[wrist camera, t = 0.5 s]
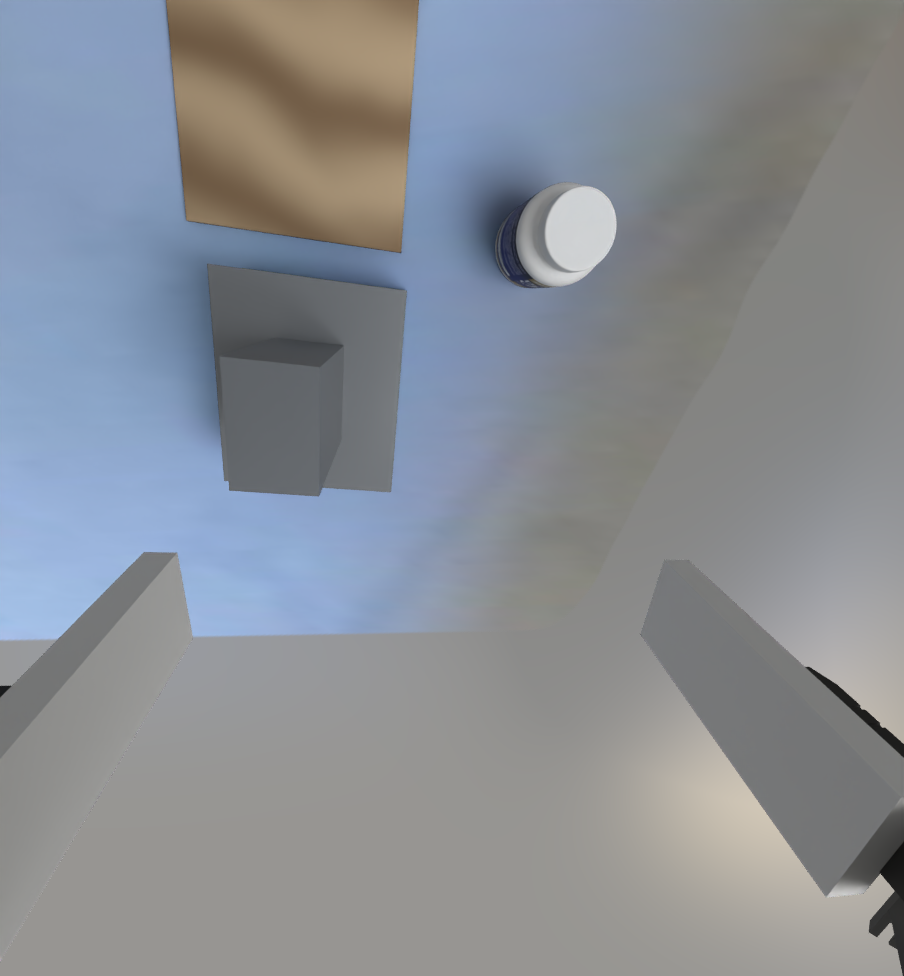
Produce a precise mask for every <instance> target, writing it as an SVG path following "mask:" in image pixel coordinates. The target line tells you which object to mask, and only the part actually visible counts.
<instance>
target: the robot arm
mask: <svg viewBox="0 0 904 976" xmlns="http://www.w3.org/2000/svg"><path fill="white" fill-rule="evenodd" d="M640 635H641V636H642V638H643V639H644V641H645V642H646V643H647V645H648V646H649V647H650V649H651V650H652V652H653V653H654V654H655V656H656V658H657V659H658V660H659V662H660V663H661V665H662V666H663V667H664V669H665V670H666V672H667V673H668V675H669V676H670V677H671V679H672V680H673V682H674V683H675V684H676V686H677V687H678V689H679V690H680V691H681V693H682V694H683V696H684V697H685V698H686V700H687V701H688V703H689V704H690V706H691V707H692V708H693V710H694V711H695V713H696V714H697V716H698V717H699V718H700V720H701V721H702V723H703V724H704V725H705V727H706V728H707V730H708V731H709V733H710V734H711V735H712V736H713V738H714V739H715V741H716V742H717V744H718V745H719V746H720V748H721V749H722V751H723V752H724V754H725V755H726V757H727V758H728V759H729V760H730V762H731V764H732V765H733V766H734V768H735V769H736V771H737V772H738V774H739V775H740V776H741V778H742V779H743V781H744V782H745V783H746V785H747V786H748V787H749V789H750V790H751V792H752V793H753V794H754V796H755V798H756V799H757V800H758V802H759V803H760V805H761V806H762V807H763V809H764V810H765V812H766V813H767V815H768V816H769V817H770V819H771V820H772V822H773V823H774V824H775V826H776V827H777V829H778V830H779V831H780V833H781V834H782V836H783V837H784V838H785V840H786V841H787V843H788V844H789V845H790V847H791V848H792V850H793V851H794V852H795V854H796V855H797V857H798V858H799V860H800V861H801V863H802V864H803V865H804V867H805V868H806V870H807V871H808V872H809V874H810V875H811V877H812V878H813V880H814V881H815V882H816V884H817V885H818V887H819V888H820V889H821V891H822V892H823V894H824V895H825V896H826V897H836V896H846V895H856V894H864V892H865V891H866V890H867V889H868V888H869V886H870V885H871V884H872V883H873V881H874V880H875V879H876V878H877V877H878V875H879V874H880V873H881V875H882V876H883V877H884V878H885V880H886V881H887V882H888V883H889V884H890V885H891V887H892V888H893V889H894V890H895V892H894V893H893V894H892V895H891V896H890V898H889V899H888V900H887V901H886V902H885V903H884V905H883V906H882V907H881V908H880V909H879V910H878V912H877V913H876V914H875V915H874V916H873V917H872V919H871V920H870V925H869V932H870V933H871V934H873V935H874V936H876V937H878V935H879V934H880V933H881V932H882V931H883V930H884V929H885V928H886V926H887V925H888V924H889V923H892V925H893V930H894V936H893V937H892V938H891V940H890V941H889V945H891V946H893V947H894V948H896V949H898V954H899V959H900V964H901V969H902V973H903V976H904V744H903V743H902V742H901V741H900V740H898V739H897V738H896V737H895V736H894V735H893V734H892V733H891V732H889V731H888V730H887V729H886V728H882V727H881V726H880V723H879V722H878V721H877V720H876V719H875V718H874V717H873V716H872V715H870V714H869V713H868V712H867V711H866V710H862V709H861V708H860V705H859V704H858V703H857V702H856V701H855V700H854V699H853V698H851V697H850V696H849V695H848V694H847V693H846V692H845V691H844V690H842V689H841V688H840V687H839V686H838V685H837V684H835V683H834V682H832V681H831V680H829V679H827V678H826V677H824V676H822V675H821V674H820V673H818V672H816V671H815V670H813V669H812V668H810V667H804V666H803V665H802V664H801V663H800V662H799V661H798V660H797V659H796V658H794V657H793V656H792V655H791V654H790V653H789V652H788V651H787V650H786V649H785V648H784V647H782V645H780V644H779V643H778V642H777V641H776V640H775V639H774V638H773V637H772V636H771V635H770V634H768V633H767V632H766V631H765V630H764V629H763V628H762V627H761V626H760V625H759V624H758V623H756V622H755V621H754V620H753V619H752V618H751V617H750V616H749V615H748V614H747V613H746V612H745V611H743V610H742V609H741V608H740V607H739V606H738V605H737V604H736V603H735V602H734V601H732V600H731V599H730V598H729V597H728V596H727V595H726V594H725V593H724V592H723V591H722V590H721V589H720V588H718V587H717V586H716V585H715V584H714V583H713V582H712V581H711V580H710V579H709V578H708V577H707V576H705V575H704V574H703V573H702V572H701V571H700V570H699V569H698V568H697V567H696V566H695V565H693V564H692V563H691V562H690V561H689V560H664V562H663V566H662V569H661V572H660V575H659V578H658V581H657V584H656V587H655V590H654V593H653V597H652V600H651V603H650V606H649V609H648V612H647V616H646V618H645V622H644V625H643V628H642V631H641V634H640ZM192 640H193V636H192V631H191V625H190V620H189V614H188V609H187V604H186V598H185V593H184V587H183V582H182V576H181V571H180V566H179V560H178V555H177V553H161V552H144V553H143V554H142V555H141V556H140V557H139V558H138V559H137V560H136V561H135V562H134V563H133V564H132V565H131V566H130V567H129V568H128V569H127V570H126V571H125V572H124V573H123V574H122V575H121V576H120V577H119V578H118V579H117V580H116V581H115V582H114V583H113V584H112V585H111V586H110V587H109V588H108V589H107V590H106V591H105V592H104V593H103V594H102V595H101V596H100V597H99V598H98V599H97V600H96V601H95V602H94V603H93V604H92V605H91V606H90V607H89V608H88V609H87V610H86V611H85V612H84V613H83V614H82V615H81V616H80V617H79V618H78V619H77V620H76V621H75V623H74V624H73V625H72V626H71V627H70V628H69V629H68V630H67V631H66V632H65V633H64V634H63V635H62V636H61V637H60V638H59V639H58V640H57V641H56V642H55V643H54V644H53V645H52V646H51V647H50V648H49V649H48V650H47V651H46V652H45V653H44V654H43V655H42V656H41V657H40V658H39V659H38V660H37V661H36V662H35V663H34V664H33V665H32V666H31V667H30V668H29V669H28V670H27V671H26V672H25V673H24V674H23V675H22V676H21V677H20V678H19V679H18V680H17V682H15V683H14V684H13V685H12V686H0V962H1V960H2V958H3V957H4V955H5V953H6V952H7V950H8V948H9V946H10V945H11V943H12V941H13V940H14V938H15V937H16V935H17V933H18V932H19V930H20V928H21V926H22V925H23V923H24V921H25V920H26V918H27V916H28V915H29V913H30V911H31V910H32V908H33V906H34V905H35V903H36V901H37V900H38V898H39V896H40V895H41V893H42V891H43V890H44V888H45V886H46V885H47V883H48V881H49V880H50V878H51V876H52V875H53V873H54V871H55V870H56V868H57V866H58V865H59V863H60V861H61V859H62V858H63V856H64V855H65V853H66V851H67V849H68V847H69V846H70V844H71V843H72V841H73V839H74V838H75V836H76V834H77V833H78V831H79V829H80V828H81V826H82V824H83V822H84V821H85V819H86V818H87V816H88V814H89V813H90V811H91V809H92V808H93V806H94V804H95V803H96V801H97V799H98V798H99V796H100V794H101V793H102V791H103V789H104V787H105V786H106V784H107V782H108V781H109V779H110V777H111V776H112V774H113V772H114V771H115V769H116V767H117V766H118V764H119V762H120V761H121V759H122V757H123V756H124V754H125V752H126V751H127V749H128V747H129V746H130V744H131V742H132V740H133V739H134V737H135V735H136V734H137V732H138V730H139V729H140V727H141V726H142V724H143V722H144V720H145V719H146V717H147V715H148V714H149V712H150V710H151V709H152V707H153V705H154V704H155V702H156V700H157V698H158V697H159V695H160V694H161V692H162V690H163V688H164V687H165V685H166V684H167V682H168V680H169V679H170V677H171V675H172V674H173V672H174V670H175V669H176V667H177V665H178V664H179V662H180V660H181V658H182V657H183V655H184V653H185V652H186V650H187V648H188V647H189V645H190V643H191V641H192Z"/></svg>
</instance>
